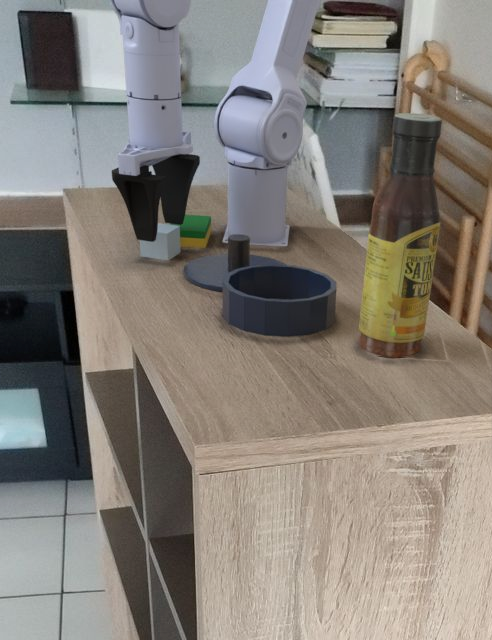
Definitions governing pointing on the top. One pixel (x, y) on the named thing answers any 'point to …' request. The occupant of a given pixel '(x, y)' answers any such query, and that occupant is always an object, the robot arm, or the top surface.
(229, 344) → the top surface
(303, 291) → the pot
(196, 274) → the lid
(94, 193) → the top surface
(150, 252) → the ice cube
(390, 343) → the sauce bottle
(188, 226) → the scrubber
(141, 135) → the robot arm
